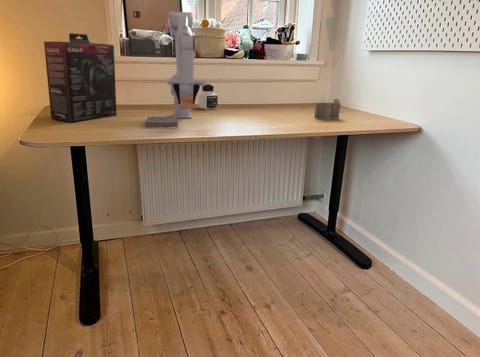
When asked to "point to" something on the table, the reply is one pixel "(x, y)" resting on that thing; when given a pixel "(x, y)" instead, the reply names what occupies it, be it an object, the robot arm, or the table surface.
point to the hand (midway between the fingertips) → (186, 103)
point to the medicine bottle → (208, 97)
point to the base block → (161, 122)
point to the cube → (186, 101)
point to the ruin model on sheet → (327, 109)
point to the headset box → (80, 79)
